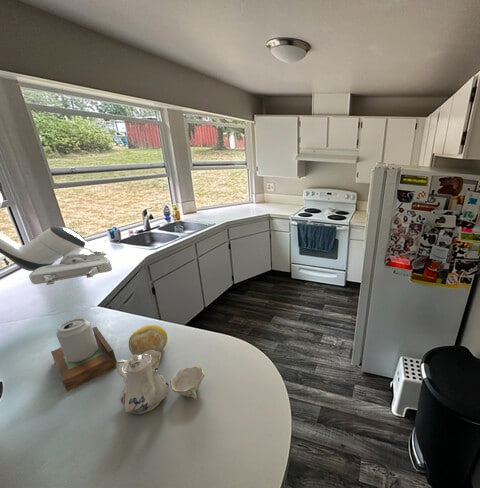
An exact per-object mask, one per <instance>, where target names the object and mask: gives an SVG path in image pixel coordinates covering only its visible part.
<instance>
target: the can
mask: <svg viewBox="0 0 480 488" xmlns="http://www.w3.org/2000/svg"><path fill="white" fill-rule="evenodd" d="M92 328H93V327H92V324H91V322H90V321H88V320H87V319H86V318H83V317H77V318H73V319H70V320H67V321H65V322H63V323H61V324H60V325H59V326H58V327H57V331H56V332H55V333H56V334H55V335H56V338H57V340H58V343H59V345H60V348H62V350H63V353H64V355H65V357H66V360H67V361H69V362H79V361H83V360H86V359H88V358H89V357H91V356H92V355H93V354H94V353H95V352H96V351H97V350H98V345H97V342H96V339H95V336H94V332H93V329H92Z"/></svg>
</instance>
